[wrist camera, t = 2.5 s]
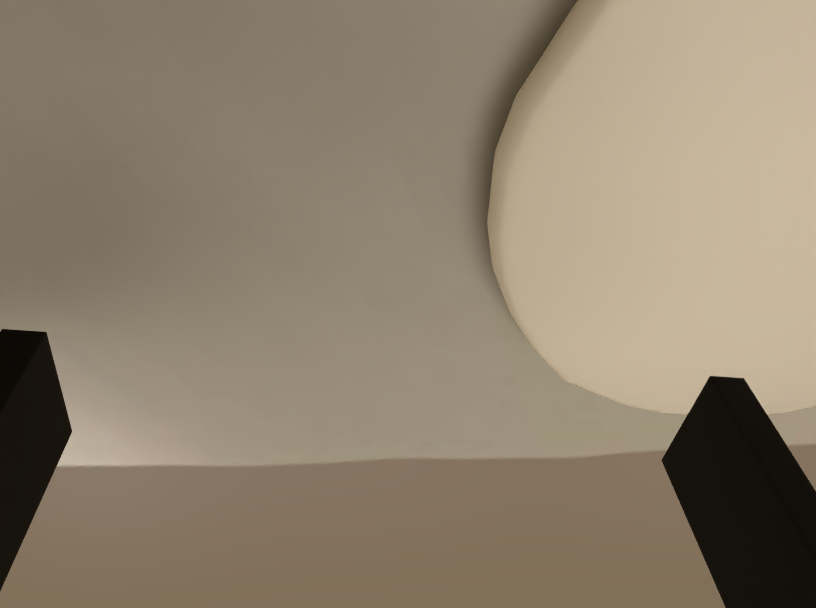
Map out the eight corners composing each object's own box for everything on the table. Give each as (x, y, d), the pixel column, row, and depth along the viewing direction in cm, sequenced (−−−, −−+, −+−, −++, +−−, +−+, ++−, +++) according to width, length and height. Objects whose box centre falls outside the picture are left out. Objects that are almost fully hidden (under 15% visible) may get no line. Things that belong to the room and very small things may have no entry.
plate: (500, 456, 37) (468, -100, 20) (495, 373, 42) (466, -124, 26) (1063, 438, 33) (1561, -246, 17) (983, 350, 38) (1307, -241, 22)
